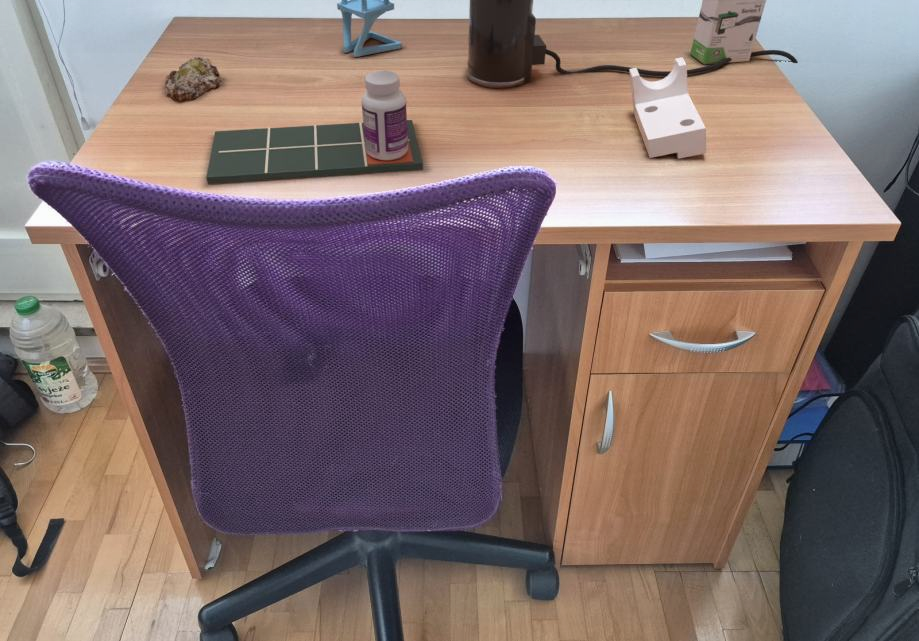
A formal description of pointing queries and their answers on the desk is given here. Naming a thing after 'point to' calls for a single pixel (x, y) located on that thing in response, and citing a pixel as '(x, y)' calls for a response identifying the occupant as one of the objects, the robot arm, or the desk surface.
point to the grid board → (301, 153)
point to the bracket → (667, 114)
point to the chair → (365, 25)
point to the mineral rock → (192, 79)
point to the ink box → (726, 30)
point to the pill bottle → (384, 116)
